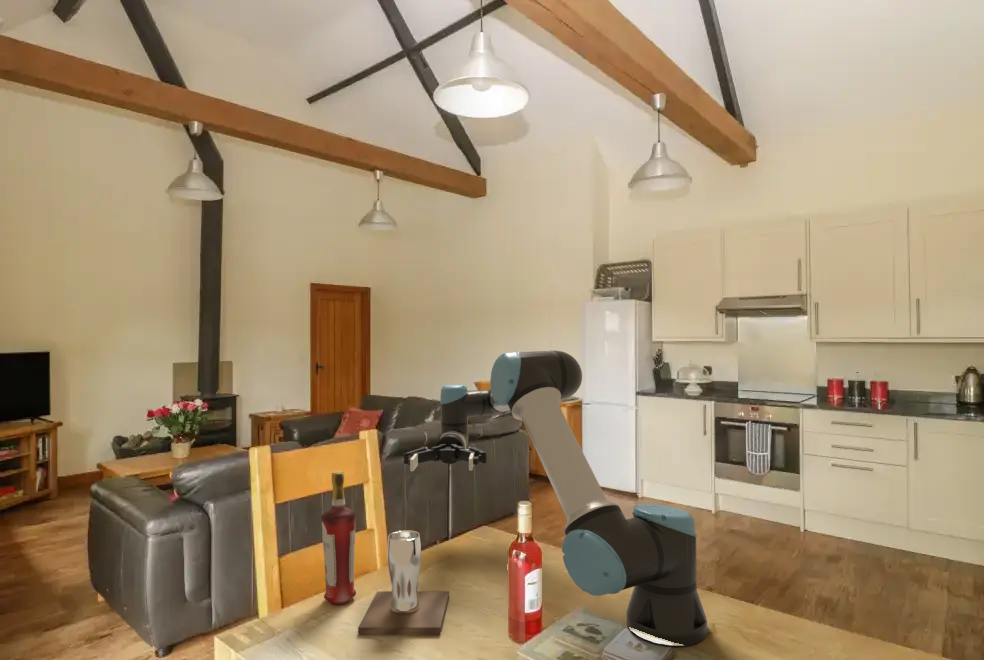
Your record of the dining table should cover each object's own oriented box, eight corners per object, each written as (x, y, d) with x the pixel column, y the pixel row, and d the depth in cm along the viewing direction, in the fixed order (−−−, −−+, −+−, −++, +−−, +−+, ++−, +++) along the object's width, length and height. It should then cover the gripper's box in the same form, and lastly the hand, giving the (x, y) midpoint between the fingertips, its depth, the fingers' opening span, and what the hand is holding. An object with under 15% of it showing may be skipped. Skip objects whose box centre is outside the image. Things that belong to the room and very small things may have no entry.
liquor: (319, 597, 132) (317, 472, 132) (352, 590, 135) (350, 467, 135) (327, 611, 125) (324, 478, 125) (361, 603, 129) (358, 474, 129)
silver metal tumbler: (415, 616, 119) (414, 542, 119) (383, 614, 120) (381, 540, 120) (426, 601, 125) (425, 530, 126) (395, 599, 127) (394, 529, 127)
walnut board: (449, 598, 130) (449, 591, 130) (440, 635, 114) (440, 627, 114) (377, 598, 131) (377, 591, 131) (358, 635, 115) (358, 627, 115)
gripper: (498, 460, 157) (495, 480, 136) (404, 461, 158) (387, 481, 137) (497, 432, 157) (494, 448, 136) (404, 433, 158) (387, 449, 137)
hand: (441, 465), depth 136 cm, fingers open, 13 cm apart
